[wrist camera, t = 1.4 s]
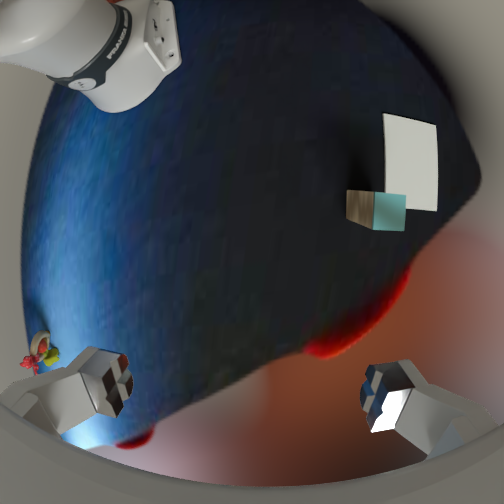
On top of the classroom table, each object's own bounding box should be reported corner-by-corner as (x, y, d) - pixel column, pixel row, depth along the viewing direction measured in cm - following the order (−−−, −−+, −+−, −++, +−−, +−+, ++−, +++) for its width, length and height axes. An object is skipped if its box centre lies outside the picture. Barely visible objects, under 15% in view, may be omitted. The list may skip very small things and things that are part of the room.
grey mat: (382, 114, 32) (383, 113, 32) (434, 125, 32) (435, 125, 32) (383, 206, 36) (385, 206, 35) (435, 210, 35) (436, 211, 35)
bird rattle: (44, 323, 46) (40, 358, 44) (14, 326, 35) (12, 365, 33) (63, 333, 46) (59, 369, 44) (34, 339, 35) (31, 380, 34)
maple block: (346, 189, 35) (375, 192, 26) (372, 191, 35) (406, 194, 26) (345, 218, 36) (373, 229, 27) (371, 219, 36) (404, 230, 27)
